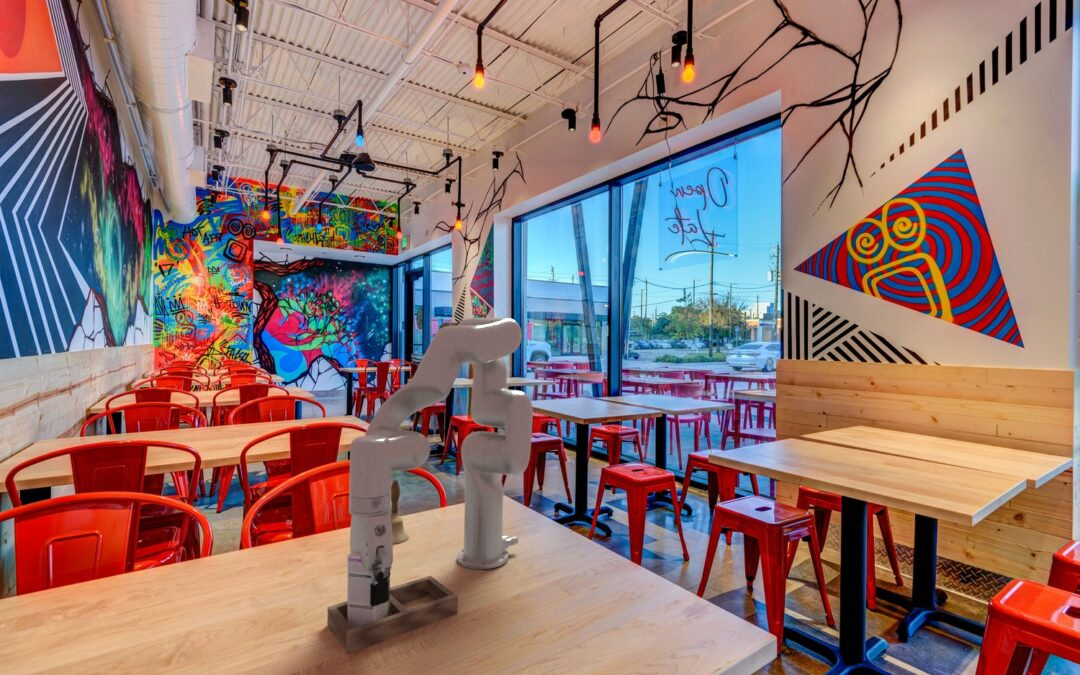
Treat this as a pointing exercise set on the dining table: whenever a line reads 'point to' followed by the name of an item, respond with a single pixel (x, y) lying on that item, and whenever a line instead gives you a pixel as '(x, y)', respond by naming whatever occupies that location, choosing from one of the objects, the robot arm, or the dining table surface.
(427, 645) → the dining table surface
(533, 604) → the dining table surface
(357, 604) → the syrup box
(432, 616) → the rack
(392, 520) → the hand bell
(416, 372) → the robot arm
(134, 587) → the dining table surface
